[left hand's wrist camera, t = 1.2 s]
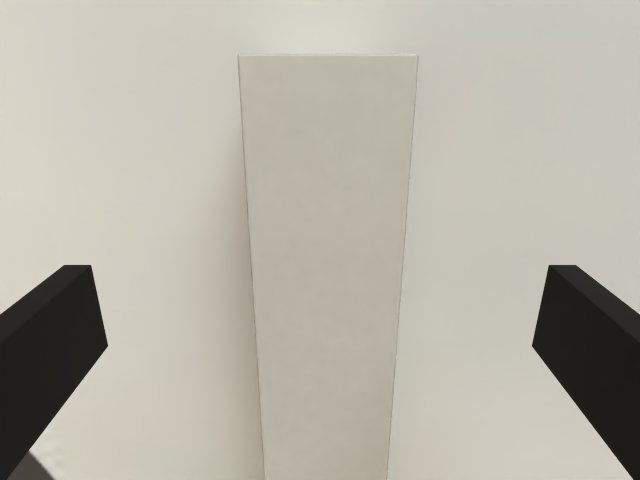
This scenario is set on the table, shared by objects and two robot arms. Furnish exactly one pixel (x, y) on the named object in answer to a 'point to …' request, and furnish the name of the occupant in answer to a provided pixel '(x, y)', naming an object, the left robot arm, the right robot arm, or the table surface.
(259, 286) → the beam
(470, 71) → the table surface
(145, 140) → the table surface
